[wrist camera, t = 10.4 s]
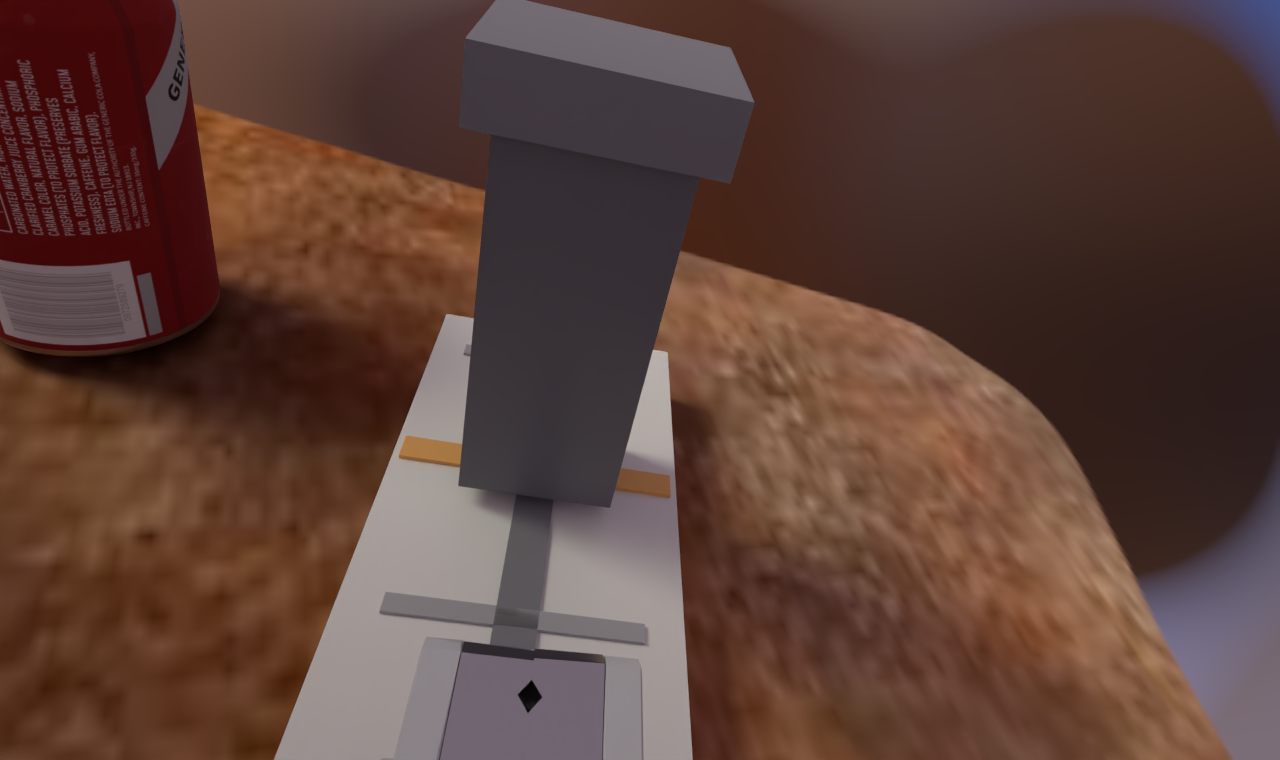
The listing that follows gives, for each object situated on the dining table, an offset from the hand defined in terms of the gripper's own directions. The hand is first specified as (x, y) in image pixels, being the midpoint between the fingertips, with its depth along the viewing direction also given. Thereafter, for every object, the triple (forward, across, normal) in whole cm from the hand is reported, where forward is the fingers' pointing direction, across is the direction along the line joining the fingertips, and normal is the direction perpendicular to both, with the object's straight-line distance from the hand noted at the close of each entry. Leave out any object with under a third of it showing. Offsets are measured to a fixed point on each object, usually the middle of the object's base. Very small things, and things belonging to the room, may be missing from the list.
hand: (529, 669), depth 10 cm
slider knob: (+9, 0, +5) cm, 10 cm away
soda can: (+16, +15, +7) cm, 23 cm away
